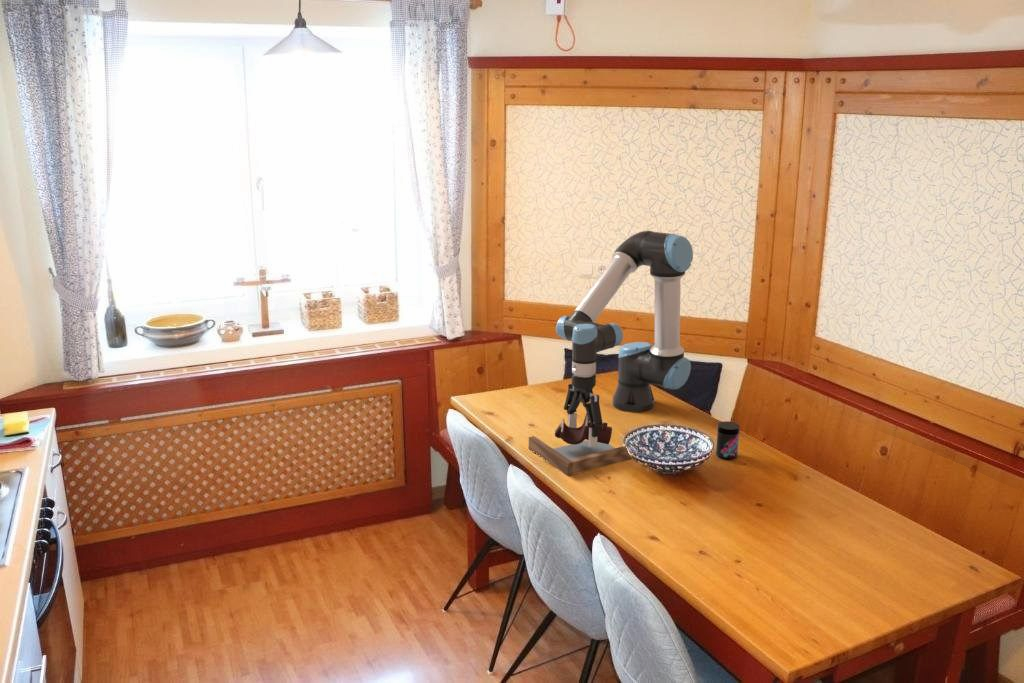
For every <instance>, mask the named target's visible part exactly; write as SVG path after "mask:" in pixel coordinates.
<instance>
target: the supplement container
mask: <svg viewBox="0 0 1024 683" xmlns="http://www.w3.org/2000/svg"><path fill="white" fill-rule="evenodd" d="M716 429H717V431H716V432H717V433H716V448H715V454H716V457H717V458H719V459H720V460H726V461H732V460H735V459H736V458H737V457H738V453H739V440H740V439H739V438H740V431H741V430H740V429H741V425H740V424H738V423H736V422H734V421H726V420H725V421H720V422H718V423H717V428H716Z"/></svg>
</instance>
